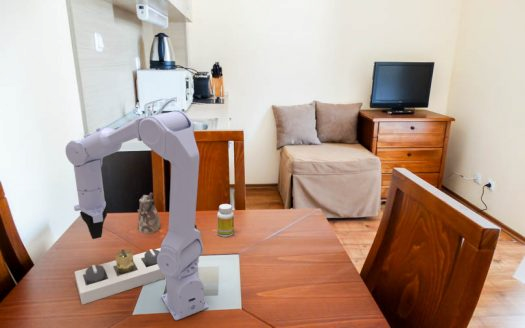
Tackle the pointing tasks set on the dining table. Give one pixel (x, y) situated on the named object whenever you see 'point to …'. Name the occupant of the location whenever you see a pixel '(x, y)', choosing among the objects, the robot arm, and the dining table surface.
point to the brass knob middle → (124, 261)
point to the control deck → (117, 279)
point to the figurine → (148, 215)
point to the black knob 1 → (95, 274)
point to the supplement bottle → (225, 220)
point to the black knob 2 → (151, 257)
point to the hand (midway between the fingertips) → (96, 237)
